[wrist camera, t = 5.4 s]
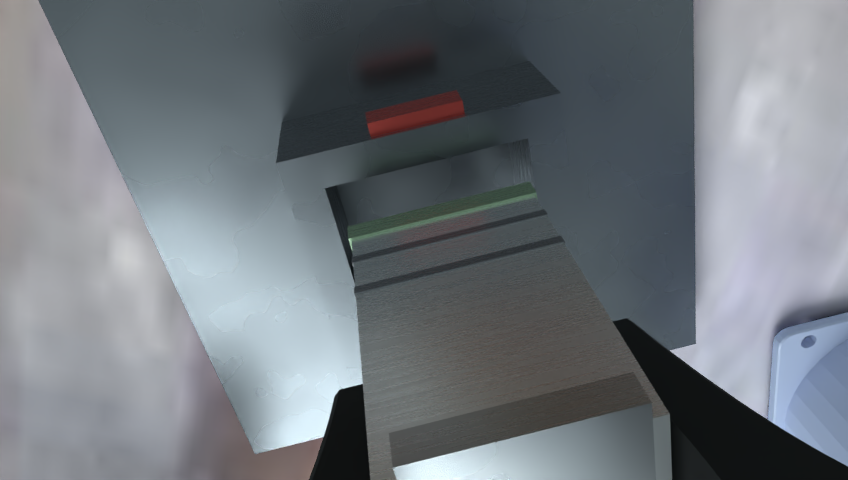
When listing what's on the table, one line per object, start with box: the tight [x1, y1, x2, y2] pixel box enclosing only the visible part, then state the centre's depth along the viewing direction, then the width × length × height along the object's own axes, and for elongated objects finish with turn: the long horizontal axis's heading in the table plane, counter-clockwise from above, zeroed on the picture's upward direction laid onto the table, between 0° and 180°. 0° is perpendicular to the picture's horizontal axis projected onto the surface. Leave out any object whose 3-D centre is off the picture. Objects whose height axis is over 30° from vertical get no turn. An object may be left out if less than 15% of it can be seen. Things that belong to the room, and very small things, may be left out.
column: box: [347, 181, 672, 480], centre depth 12 cm, size 4×5×7 cm
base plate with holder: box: [39, 0, 696, 454], centre depth 17 cm, size 14×14×4 cm
